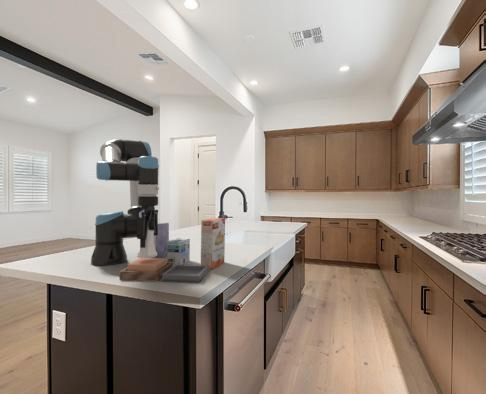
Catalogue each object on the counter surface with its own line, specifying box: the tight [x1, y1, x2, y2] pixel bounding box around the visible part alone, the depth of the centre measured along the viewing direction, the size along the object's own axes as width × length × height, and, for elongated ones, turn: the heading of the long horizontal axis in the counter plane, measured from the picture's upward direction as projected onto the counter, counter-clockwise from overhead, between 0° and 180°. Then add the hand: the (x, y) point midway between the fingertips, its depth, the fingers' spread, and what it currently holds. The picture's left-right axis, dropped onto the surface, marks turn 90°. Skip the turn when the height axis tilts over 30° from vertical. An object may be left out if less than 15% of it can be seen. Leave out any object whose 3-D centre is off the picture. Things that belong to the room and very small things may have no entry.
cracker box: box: [200, 217, 226, 270], centre depth 120 cm, size 14×6×21 cm, turn 162°
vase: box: [137, 230, 157, 259], centre depth 107 cm, size 8×8×10 cm
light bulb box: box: [167, 237, 191, 266], centre depth 125 cm, size 11×7×11 cm, turn 168°
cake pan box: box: [148, 222, 170, 258], centre depth 128 cm, size 19×5×18 cm, turn 172°
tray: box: [161, 264, 209, 284], centre depth 104 cm, size 14×14×2 cm
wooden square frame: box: [119, 262, 174, 282], centre depth 106 cm, size 15×15×3 cm
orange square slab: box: [127, 258, 167, 272], centre depth 106 cm, size 11×11×2 cm
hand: (147, 253), depth 107 cm, fingers closed on vase, 6 cm apart
